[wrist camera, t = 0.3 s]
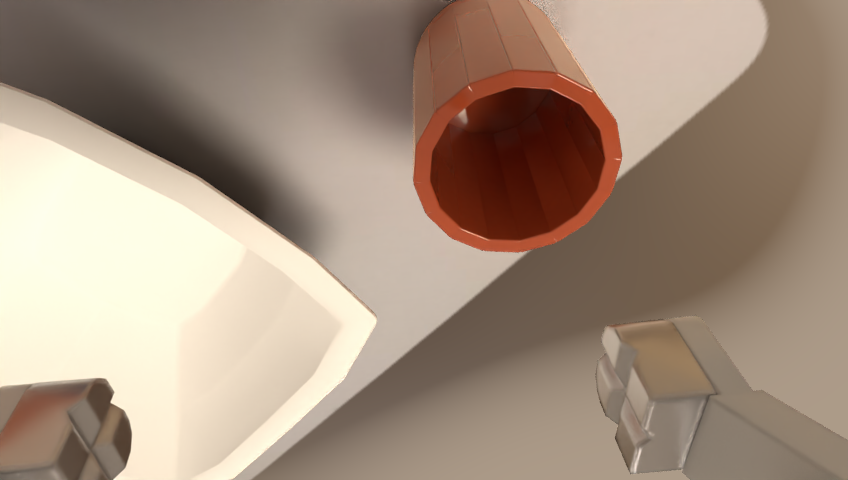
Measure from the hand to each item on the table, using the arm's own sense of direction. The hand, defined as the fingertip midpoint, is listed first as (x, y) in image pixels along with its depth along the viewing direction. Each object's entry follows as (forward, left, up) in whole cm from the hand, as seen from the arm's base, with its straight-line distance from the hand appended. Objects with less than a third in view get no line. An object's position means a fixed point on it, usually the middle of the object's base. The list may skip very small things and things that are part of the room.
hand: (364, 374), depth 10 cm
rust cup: (+2, +5, -21) cm, 22 cm away
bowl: (+14, -14, -22) cm, 29 cm away
